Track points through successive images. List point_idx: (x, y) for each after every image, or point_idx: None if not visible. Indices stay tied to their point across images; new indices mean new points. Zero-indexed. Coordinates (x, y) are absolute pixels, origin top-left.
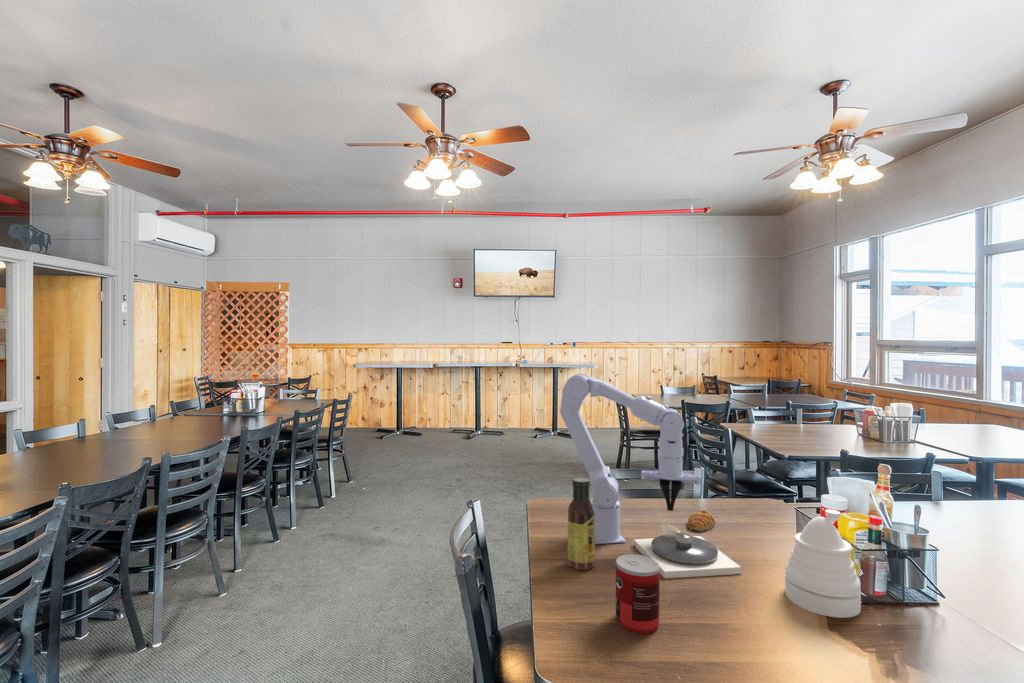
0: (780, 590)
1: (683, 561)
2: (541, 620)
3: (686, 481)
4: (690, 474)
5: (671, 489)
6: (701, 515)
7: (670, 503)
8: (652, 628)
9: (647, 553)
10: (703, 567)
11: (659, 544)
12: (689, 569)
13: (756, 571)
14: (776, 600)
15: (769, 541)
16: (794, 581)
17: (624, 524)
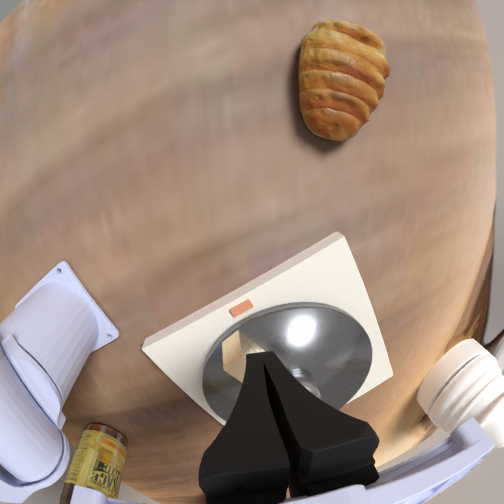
0: (418, 381)
1: None
2: (148, 496)
3: (399, 475)
4: (455, 474)
5: (289, 486)
6: (360, 75)
7: (264, 369)
8: None
9: (202, 407)
10: None
11: (227, 397)
12: None
13: (415, 342)
14: (400, 407)
15: (475, 164)
16: (431, 418)
17: (69, 176)
